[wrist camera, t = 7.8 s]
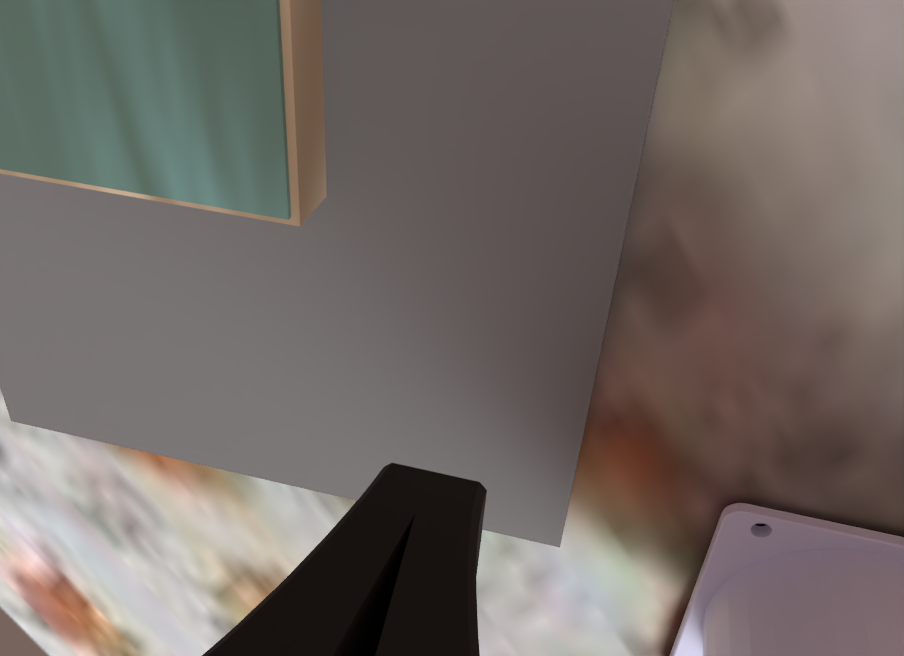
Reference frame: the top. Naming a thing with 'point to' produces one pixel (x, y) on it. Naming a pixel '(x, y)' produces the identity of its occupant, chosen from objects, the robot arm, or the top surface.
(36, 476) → the top surface
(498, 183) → the rubber mat
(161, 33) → the brown framed teal panel
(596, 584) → the top surface
